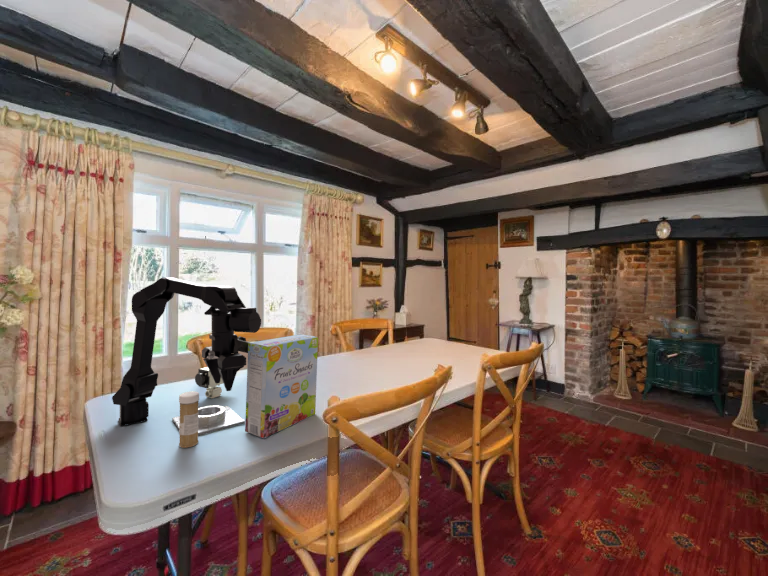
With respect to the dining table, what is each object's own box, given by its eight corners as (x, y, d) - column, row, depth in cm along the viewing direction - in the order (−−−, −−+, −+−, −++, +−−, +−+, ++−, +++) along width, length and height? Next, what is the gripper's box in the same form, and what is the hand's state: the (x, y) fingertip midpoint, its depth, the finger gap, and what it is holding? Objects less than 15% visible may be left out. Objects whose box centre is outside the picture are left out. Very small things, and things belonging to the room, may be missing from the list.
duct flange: (185, 438, 94) (185, 426, 94) (172, 420, 106) (172, 409, 106) (244, 423, 105) (245, 412, 105) (227, 408, 117) (227, 398, 117)
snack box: (265, 440, 94) (266, 346, 93) (243, 433, 98) (244, 342, 98) (318, 414, 113) (319, 335, 112) (297, 409, 117) (298, 333, 116)
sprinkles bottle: (179, 442, 92) (179, 392, 92) (198, 439, 94) (199, 389, 94) (178, 450, 88) (178, 397, 88) (198, 446, 90) (199, 395, 90)
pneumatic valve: (194, 400, 123) (194, 366, 123) (223, 391, 133) (223, 360, 133) (204, 403, 121) (204, 369, 120) (233, 393, 131) (233, 362, 131)
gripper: (265, 332, 95) (265, 388, 96) (239, 325, 109) (239, 374, 109) (222, 336, 88) (222, 397, 88) (201, 328, 101) (201, 381, 102)
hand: (223, 386), depth 97 cm, fingers open, 9 cm apart
